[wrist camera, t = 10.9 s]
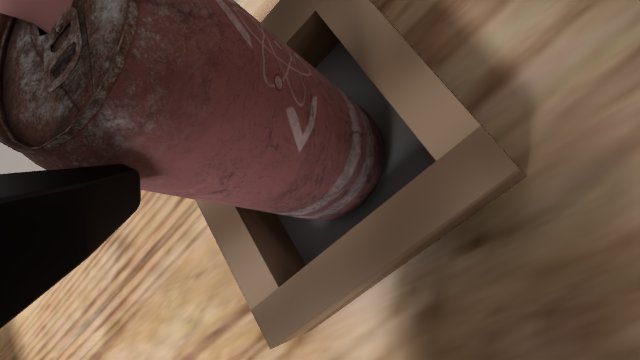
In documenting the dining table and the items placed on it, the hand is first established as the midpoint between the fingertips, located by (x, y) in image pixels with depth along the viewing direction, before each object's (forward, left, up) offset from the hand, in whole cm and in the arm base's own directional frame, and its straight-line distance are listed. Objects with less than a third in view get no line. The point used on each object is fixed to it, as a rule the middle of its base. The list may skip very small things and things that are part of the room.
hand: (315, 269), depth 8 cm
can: (+3, +6, -11) cm, 13 cm away
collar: (+3, +7, -12) cm, 14 cm away
